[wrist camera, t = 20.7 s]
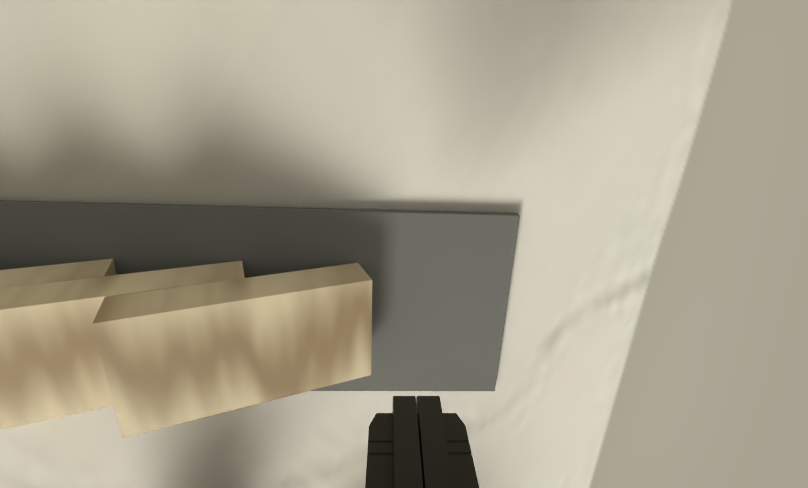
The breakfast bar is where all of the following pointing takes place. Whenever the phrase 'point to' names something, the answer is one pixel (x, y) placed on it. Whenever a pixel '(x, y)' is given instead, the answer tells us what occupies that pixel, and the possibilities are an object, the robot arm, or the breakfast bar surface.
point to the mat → (308, 249)
